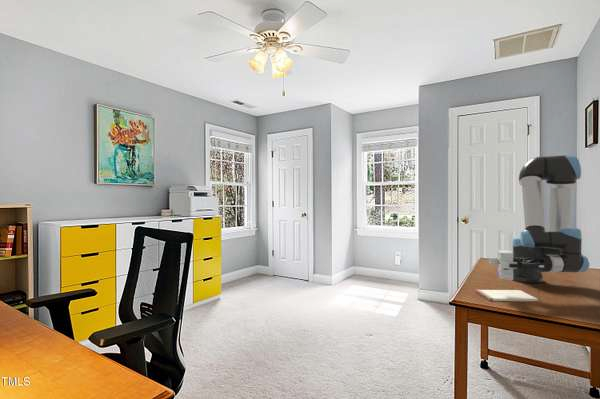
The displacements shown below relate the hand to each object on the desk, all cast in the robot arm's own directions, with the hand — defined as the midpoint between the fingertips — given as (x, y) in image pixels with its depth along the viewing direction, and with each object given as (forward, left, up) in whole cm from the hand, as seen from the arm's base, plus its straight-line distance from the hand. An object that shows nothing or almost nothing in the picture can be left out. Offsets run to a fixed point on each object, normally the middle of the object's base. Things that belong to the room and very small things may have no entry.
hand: (495, 262), depth 151 cm
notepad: (-5, 0, -15) cm, 16 cm away
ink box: (-4, 0, -7) cm, 8 cm away
